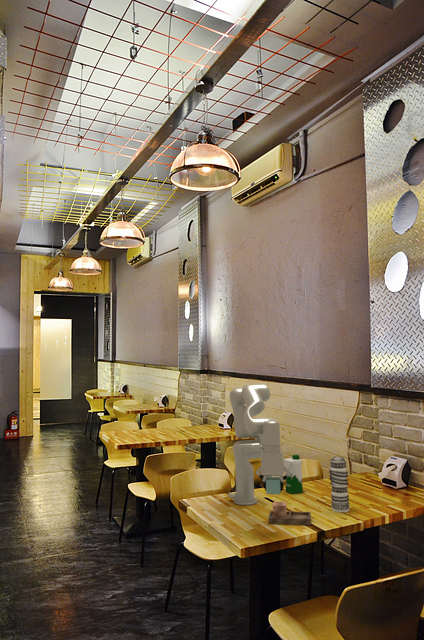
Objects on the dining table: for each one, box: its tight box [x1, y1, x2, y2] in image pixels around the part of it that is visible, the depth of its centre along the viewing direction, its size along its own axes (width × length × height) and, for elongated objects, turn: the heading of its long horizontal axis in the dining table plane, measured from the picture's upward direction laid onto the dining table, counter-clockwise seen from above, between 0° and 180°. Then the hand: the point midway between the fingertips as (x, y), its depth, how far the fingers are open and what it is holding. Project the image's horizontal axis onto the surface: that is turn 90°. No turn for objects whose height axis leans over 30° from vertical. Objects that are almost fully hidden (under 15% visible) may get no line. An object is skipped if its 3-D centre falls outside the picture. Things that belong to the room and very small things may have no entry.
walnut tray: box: [268, 501, 312, 526], centre depth 217 cm, size 19×10×8 cm, turn 79°
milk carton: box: [284, 454, 304, 495], centre depth 264 cm, size 9×9×20 cm
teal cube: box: [265, 476, 282, 495], centre depth 207 cm, size 6×6×6 cm
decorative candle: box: [328, 456, 350, 513], centre depth 232 cm, size 9×9×25 cm
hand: (273, 489), depth 206 cm, fingers closed on teal cube, 6 cm apart
